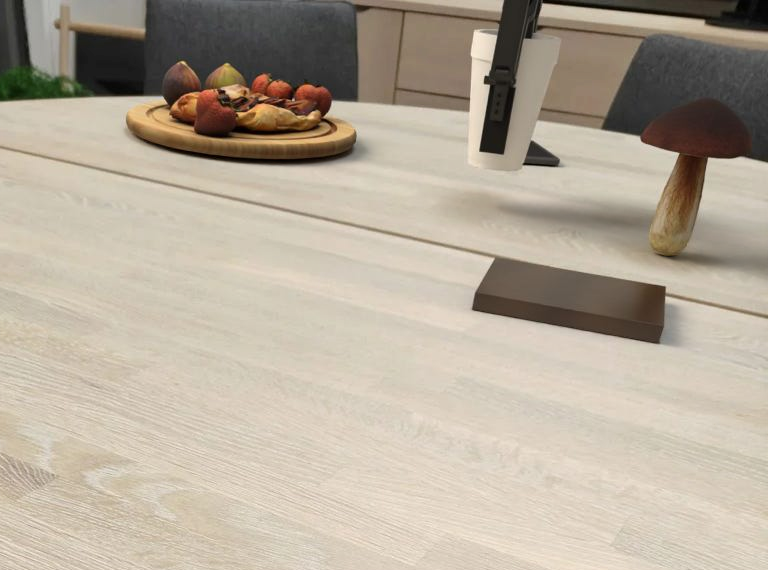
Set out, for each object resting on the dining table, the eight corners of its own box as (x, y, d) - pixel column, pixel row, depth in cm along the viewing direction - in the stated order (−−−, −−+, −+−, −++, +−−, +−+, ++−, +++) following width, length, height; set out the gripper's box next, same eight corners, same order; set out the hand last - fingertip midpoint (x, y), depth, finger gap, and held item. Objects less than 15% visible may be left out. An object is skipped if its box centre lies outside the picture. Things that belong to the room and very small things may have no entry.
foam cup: (517, 178, 110) (543, 42, 102) (441, 163, 114) (460, 31, 106) (546, 166, 117) (572, 37, 109) (473, 153, 120) (494, 27, 113)
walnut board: (661, 302, 93) (666, 286, 92) (658, 343, 84) (664, 325, 83) (492, 273, 96) (495, 257, 95) (471, 309, 87) (474, 292, 86)
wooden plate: (282, 177, 122) (287, 101, 117) (77, 132, 133) (74, 61, 128) (392, 143, 144) (401, 78, 140) (209, 107, 156) (211, 46, 151)
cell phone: (531, 145, 151) (532, 139, 151) (560, 165, 140) (562, 160, 140) (485, 142, 150) (486, 136, 150) (510, 162, 139) (511, 156, 139)
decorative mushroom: (671, 274, 101) (722, 109, 92) (591, 244, 108) (630, 88, 99) (738, 264, 106) (791, 107, 97) (657, 236, 113) (700, 87, 104)
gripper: (517, -97, 110) (480, 127, 123) (488, -105, 93) (448, 157, 106) (586, -92, 108) (541, 135, 122) (568, -99, 91) (518, 166, 105)
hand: (497, 145), depth 114 cm, fingers closed on foam cup, 9 cm apart
